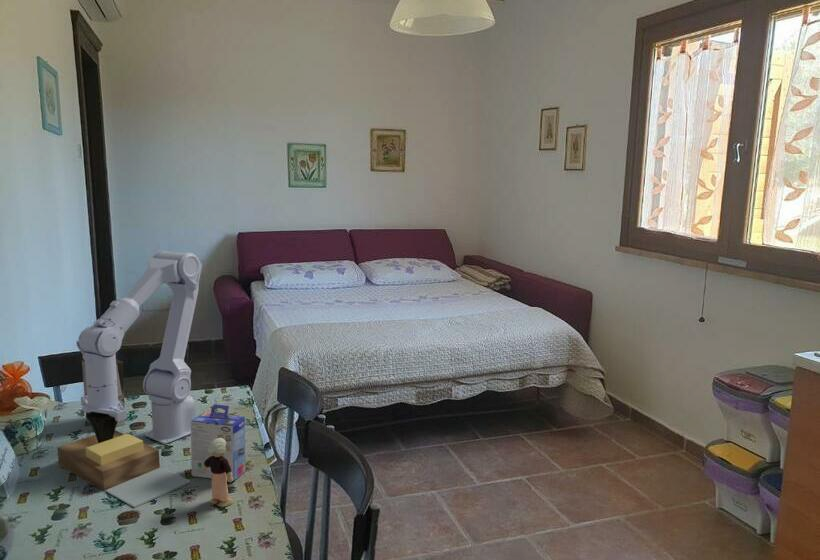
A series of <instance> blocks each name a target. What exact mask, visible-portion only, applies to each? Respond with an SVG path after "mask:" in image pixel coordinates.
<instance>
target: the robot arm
mask: <svg viewBox="0 0 820 560" xmlns="http://www.w3.org/2000/svg"><path fill="white" fill-rule="evenodd" d="M202 267H203V264H202V262H201V261H200V259H199V258H198V256H197V255H196V254H195V253H193V252H178V251H168V250H162V249H161V250H158V251H156V252H155V253H154V254H153V256H152V257H150V259H149V260H148V262H147V269H146V270H145V271H144V273H143V274H142V275H141V277H140V278H139V279H138V280H137V282H136V283H135V285H134V286H133V287H132V289H131V290H130V292H128V293H127V295H126V297H124V298H123V297H121V298H117V299H115V300H112V302H110V304H109V308H107V310H105V312H104V313H103V314H102V315H101V316H100V317H99V318H98V319H97V320H96V321H95V322H94V324H93V325H89V326H87V327H86V328H84V329H83V330H82V331H81V332H80V333H79V336H78V340H76V347H77V349H78V350H79V352H81V354H82V360H85V372H86V387H87V395H86V396H85V395H82V396H80V405H81V406H82V407H81V410H82V412H84V413H85V419H86V418H87V419H88V421H89V422H90V423H89V422H88V423H89V424H90V425H91V427H92V429H93V432H94V435H96V438H97V441H98V443H101V442H104V441H107V440H110V439H113V436H114V432H115V430H116V427H117V426H116V425H117V423H118V421H121V420H124V419H125V420H127V419H128V410H127V409H126V408H125V409H124V408H123V406H122V405H121V403H120V401H119V400H118V389H117V372H116V359H117V357H116V353H117V352H118V351H119V350H120V349H121V347H122V344H123V338H124V337H125V334H126V332H127V331H128V330H129V329H130V327H131V326H132V325H133V324H134V323H135V321H136V320H137V319H138V318H139V317H140V307H142V305H143V304H144V303H145V302H146V301H147V300H148V299H150V297H151V296H152V295H153V294H154V293H155V292H156V291H157V290H158V289H160V287H161V285H163V284H166V285H167V286H168V287H169V289H170V290H171V291H172V293H173V294H172V298H171V303H170V308H169V313H168V316H167V317H168V318H167V322H166V326H165V331H164V335H163V341H162V344H161V350H160V355H159V357H158V358H157V359H156V360H154V361H153V362H151V363H150V364H149V369H148V371H147V373H146V375H145V376H144V378H143V381H142V388H143V392H144V393H145V394H146V395H147V396H148V399H149V400H150V402H151V420H152V421H151V422H152V423H151V424H152V425H151V426H152V431H149V432H146V433H145V434H144V436H145V437H147V438H149V439H151V440H154V441H156V442H158V443H160V444H163V445H165V444H168V443H172V442H175V441H177V440H179V439H182V438H184V437H187V436H189V435H190V436H191V421H192V420H193V419H195V418H196V417H197V410H196V409H197V407H196V402H195V400H194V398H193V397H192V395H190V392H191V388H192V382H191V375H192V370H191V368H190V367H189V366H188V364H187V363H186V362H185V357H186V351H187V349H188V348H187V346H188V342H189V337H190V333H191V328H192V324H193V319H194V318H193V317H194V314H195V309H196V304H197V300H198V294H199V289H200V288H199V287H200V286H199V285H200V283H199V282H200V279H201V278H200V277H201V272H202V269H203V268H202ZM87 412H92V413H88V414H86V413H87Z"/></svg>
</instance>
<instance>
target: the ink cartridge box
mask: <svg viewBox="0 0 820 560" xmlns="http://www.w3.org/2000/svg"><path fill="white" fill-rule="evenodd" d="M218 409H222V410H224V412H219V411H215V410H218ZM229 409H230V406H229V405H225V404H214V403H213V406H212V408H211V411H210V413H209V412H203V413H201V414H199V415H198V416H196V418H195V419H193V420H192V421H191V434H190V453H191V454H190V455H191V456H190V457H191V458H190V461H191V463H190V464H191V476H192V477H198V478H204V479H205V478H206V479H212V472H211V468H210V467H209V468H208V471H206V472H204V471H203V467H204V461H205V460H206V459H207V458H209V457H210V456H214V455H213V454H212V453H209V452H208V448H209V446H210V444H211V443H212V441H214V440H215V439H217V438H223V439H224V440H225V442H226V452H225V454H224V455H223V457H224V458H226V459H227V460H228V462H229V465H230V468H231V470H232V477H233V481H232V482H234V481H235V480H237V479H238V478H239V477H240V476H242V475H243V474H244V473H245V472H246V469H247V468H246V421H245V420H246V419H245V418H246V417H245V416H243V415H241V416H240V415H232V414H231V415H229V414H228V413H229ZM227 482H228V478H227Z"/></svg>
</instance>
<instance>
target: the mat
mask: <svg viewBox="0 0 820 560" xmlns="http://www.w3.org/2000/svg"><path fill="white" fill-rule="evenodd" d="M190 483H191V481H190V480H189V479H187V478H185V477H182V476H180V475H178V474H176V473H174V472H172V471H170V470H168V469H166V468H164V467H162V466H160V468H158V469H155V470H153V471H151V472H148V473H146V474H143V475H141V476H139V477H136V478H134V479H131V480H129V481H126V482H124V483H122V484H119V485H117V486H114V487H112V488H110V489H107V490H105V493H107V494H109V495H111V496H113V497H114V498H116V499H118V500H120V501H122V502H123V503H125V504H126V505H128V506H131V507H132V508H134V509H136V508H138V507H140V506H142V505H144V504H146V503H148V502H151V501H153V500H156V499H158V498H159V497H163V496H164V495H167V494H169V493H170V492H173V491H175V490H177V489H180V488H182V487H184V486H185V485H188V484H190Z"/></svg>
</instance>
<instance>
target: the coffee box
mask: <svg viewBox="0 0 820 560" xmlns="http://www.w3.org/2000/svg"><path fill="white" fill-rule="evenodd" d="M123 363H124V362H123V361H121V360H119V359H117V358H116V372H117V389H118V400H119V401H120V403H121V405H122V406H123V408H124V409H126V405H125V404H126V403H125V389H124V388H125V387H124V371H123V370H124V368H123V367H124V366H123ZM81 367H82V381H83V393H84V394H83V396H86V395H87V387H86V372H85V360H84V359H81ZM88 413H92V412H87V413H86V412H85V415H86V414H88ZM85 420H86V422H87V423H89V424H90V422H89V421H88V419H87V418H86V417H85ZM126 422H127V421H126V419H124V420H121V421H118V423H117V425H116V427H119V426H123V425H125V424H126Z"/></svg>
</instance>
